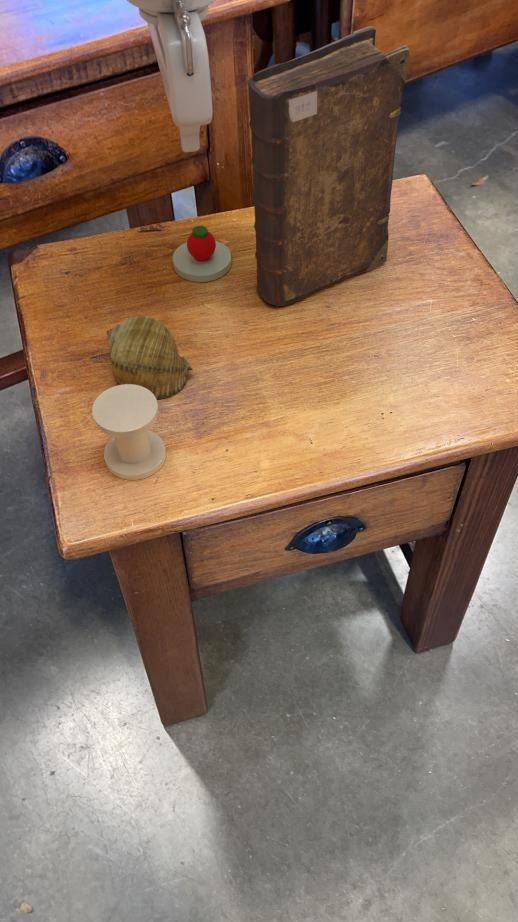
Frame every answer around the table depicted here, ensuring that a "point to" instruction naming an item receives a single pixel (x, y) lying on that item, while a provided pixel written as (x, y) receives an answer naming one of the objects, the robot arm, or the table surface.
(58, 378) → the table surface
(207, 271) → the plate
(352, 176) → the book
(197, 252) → the strawberry
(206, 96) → the robot arm
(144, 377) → the seashell
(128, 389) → the stand
